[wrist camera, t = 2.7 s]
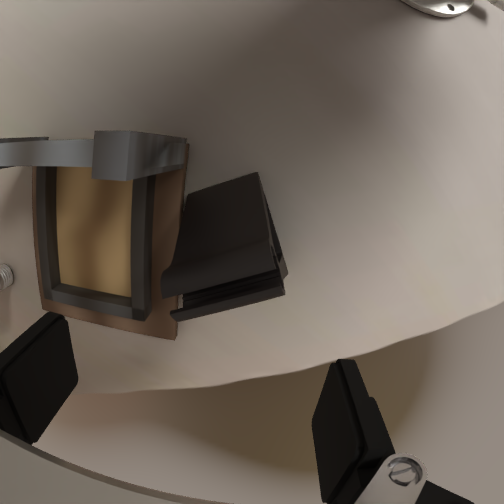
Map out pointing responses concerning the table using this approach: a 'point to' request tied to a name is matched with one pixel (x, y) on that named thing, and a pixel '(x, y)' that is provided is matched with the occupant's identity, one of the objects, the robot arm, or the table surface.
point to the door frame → (105, 224)
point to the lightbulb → (5, 276)
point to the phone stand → (225, 251)
